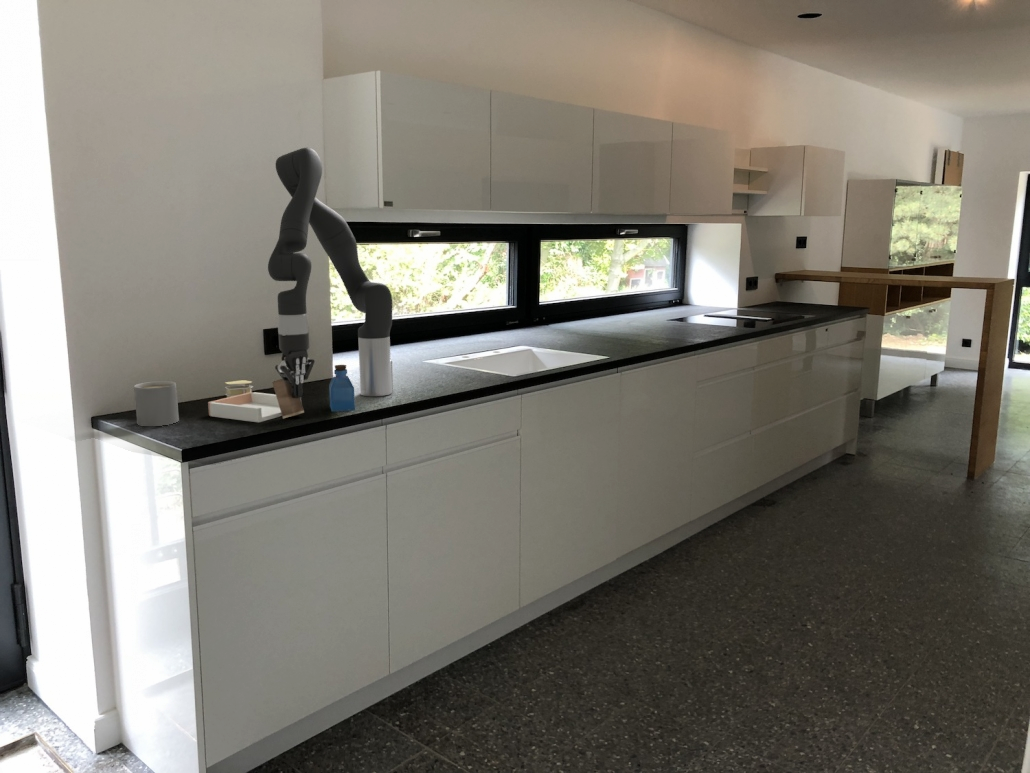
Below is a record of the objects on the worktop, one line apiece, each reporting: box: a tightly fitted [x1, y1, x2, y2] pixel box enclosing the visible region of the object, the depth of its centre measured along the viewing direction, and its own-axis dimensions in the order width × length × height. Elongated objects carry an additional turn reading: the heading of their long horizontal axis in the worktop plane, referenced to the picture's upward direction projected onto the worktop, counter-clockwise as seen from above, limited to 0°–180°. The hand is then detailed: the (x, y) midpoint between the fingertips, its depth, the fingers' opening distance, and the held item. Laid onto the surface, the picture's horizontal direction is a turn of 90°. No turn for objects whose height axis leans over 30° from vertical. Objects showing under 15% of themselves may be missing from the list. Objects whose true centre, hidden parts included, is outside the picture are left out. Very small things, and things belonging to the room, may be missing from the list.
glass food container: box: [224, 379, 254, 398], centre depth 247 cm, size 10×9×6 cm
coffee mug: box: [133, 380, 180, 427], centre depth 219 cm, size 13×10×10 cm
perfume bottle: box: [328, 364, 356, 413], centre depth 233 cm, size 6×6×12 cm
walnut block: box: [271, 378, 305, 420], centre depth 223 cm, size 4×4×10 cm
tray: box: [207, 391, 302, 423], centre depth 229 cm, size 16×18×4 cm
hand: (297, 397), depth 221 cm, fingers closed
